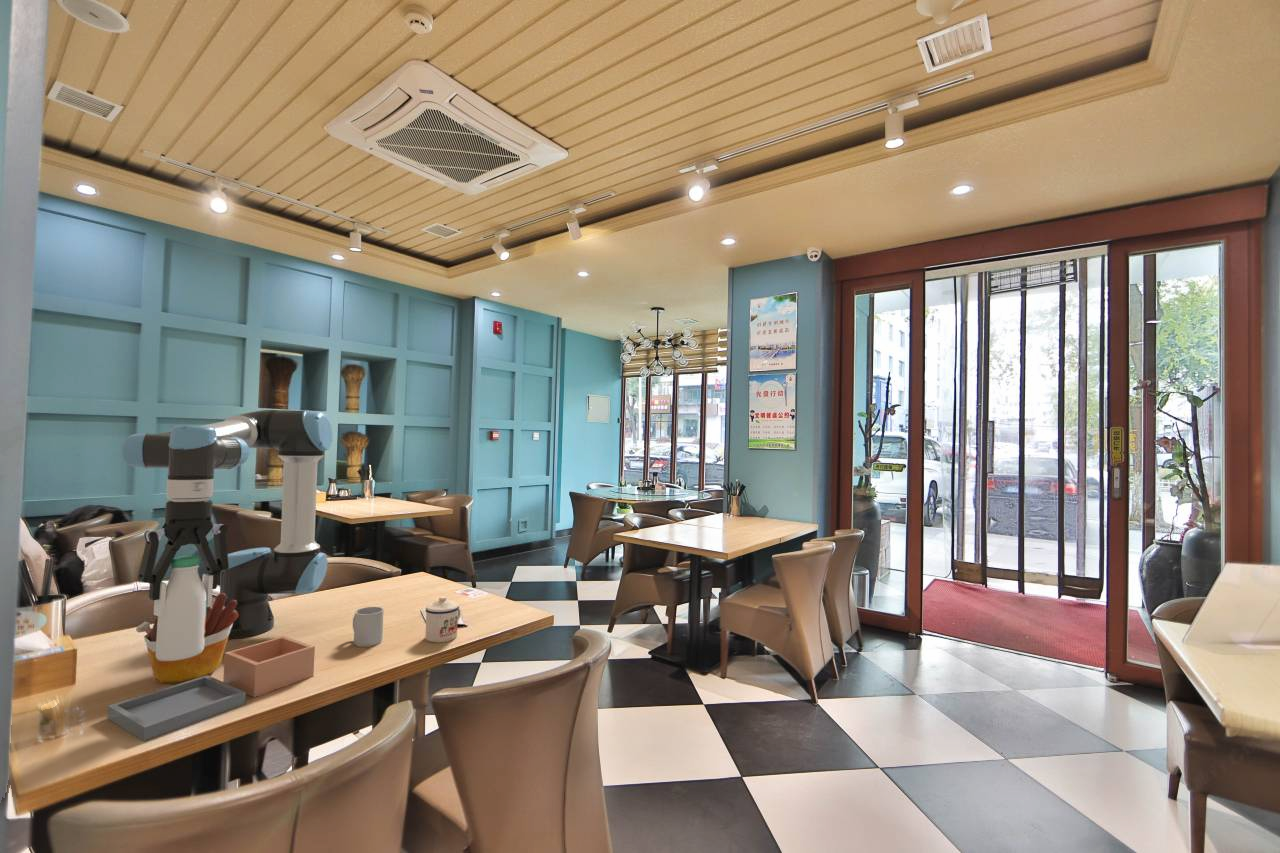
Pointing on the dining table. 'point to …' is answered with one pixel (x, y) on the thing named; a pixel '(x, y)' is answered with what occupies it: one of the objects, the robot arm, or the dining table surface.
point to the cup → (368, 626)
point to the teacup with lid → (442, 620)
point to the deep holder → (268, 665)
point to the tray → (175, 706)
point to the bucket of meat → (214, 646)
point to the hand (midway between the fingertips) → (183, 610)
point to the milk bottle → (182, 612)
